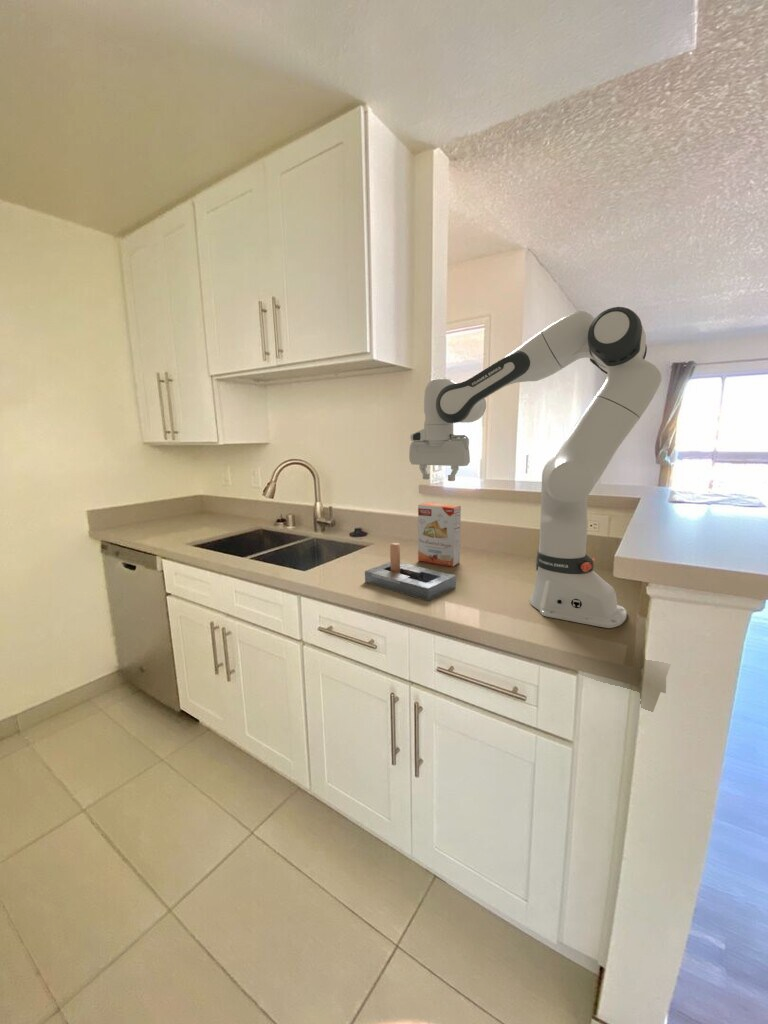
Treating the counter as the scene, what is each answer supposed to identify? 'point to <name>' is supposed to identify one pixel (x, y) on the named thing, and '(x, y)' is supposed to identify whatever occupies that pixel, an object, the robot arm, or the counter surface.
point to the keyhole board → (411, 580)
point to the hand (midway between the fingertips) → (438, 480)
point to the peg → (395, 557)
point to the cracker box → (439, 533)
